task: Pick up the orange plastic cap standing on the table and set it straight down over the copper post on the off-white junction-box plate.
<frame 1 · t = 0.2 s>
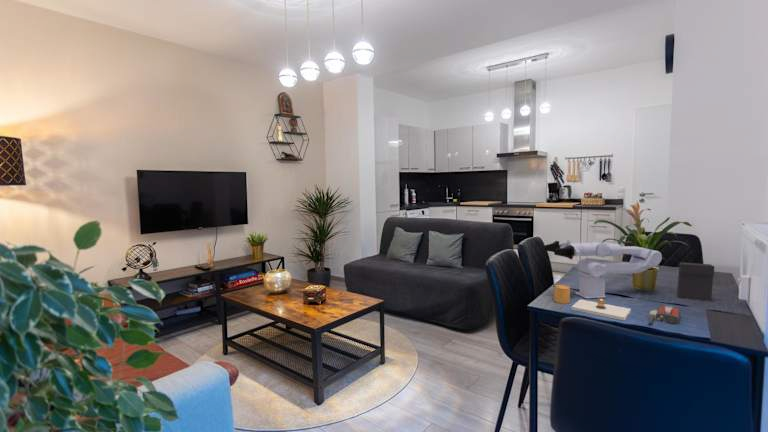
hand: (549, 250, 162), 21 cm above the table, tool horizontal, fingers open, 7 cm apart
plate: (600, 310, 148), on the table
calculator: (693, 298, 161), on the table
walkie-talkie: (663, 321, 138), on the table
cap: (561, 301, 159), on the table
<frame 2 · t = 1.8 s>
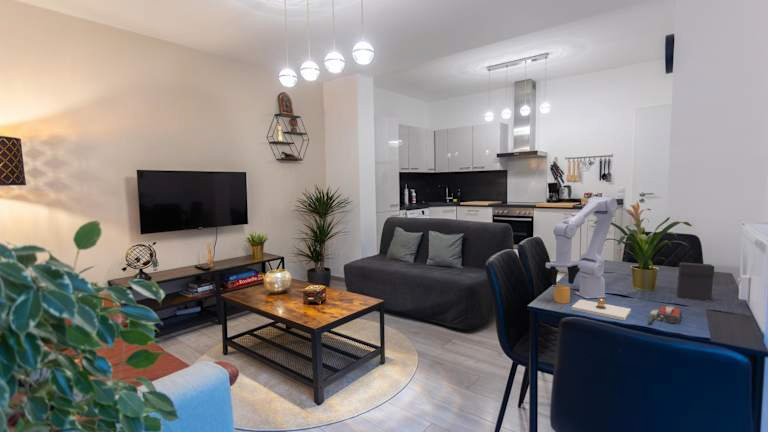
hand: (562, 284, 159), 7 cm above the table, tool pointing down, fingers open, 7 cm apart
nothing on the table moved.
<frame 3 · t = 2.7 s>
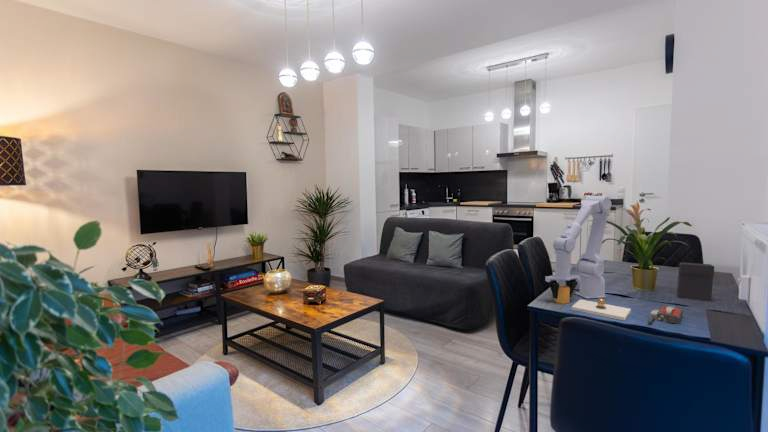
hand: (561, 297, 159), 2 cm above the table, tool pointing down, fingers closed on cap, 6 cm apart
cap: (561, 301, 159), on the table, touching gripper
everything else where it was.
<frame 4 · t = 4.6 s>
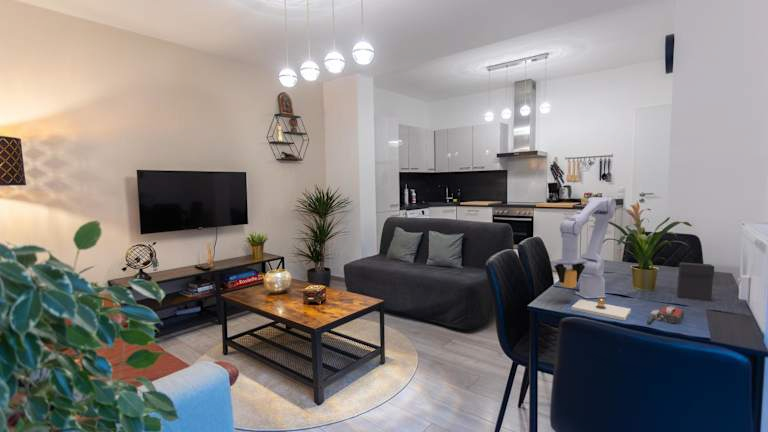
hand: (568, 281, 157), 9 cm above the table, tool pointing down, fingers closed on cap, 6 cm apart
cap: (568, 285, 157), point 7 cm above the table, touching gripper
everything else where it was.
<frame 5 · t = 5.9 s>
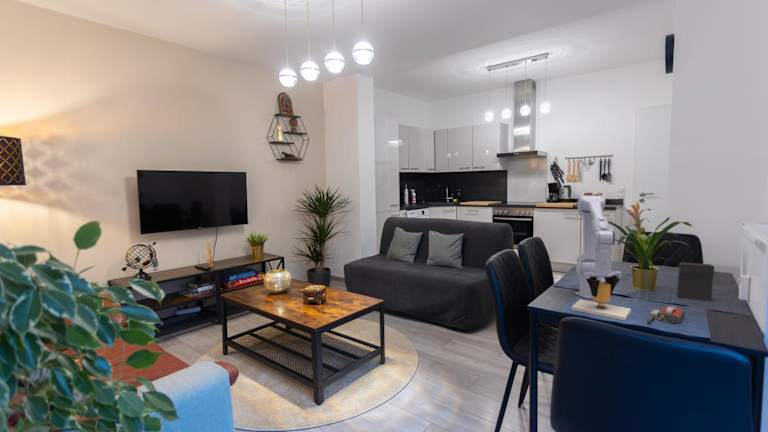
hand: (601, 295, 147), 6 cm above the table, tool pointing down, fingers closed on cap, 6 cm apart
cap: (601, 299, 147), point 4 cm above the table, touching gripper
everything else where it was.
when the fingers open (4 cm above the table, at t = 6.9 s): cap stays where it is, resting on plate.
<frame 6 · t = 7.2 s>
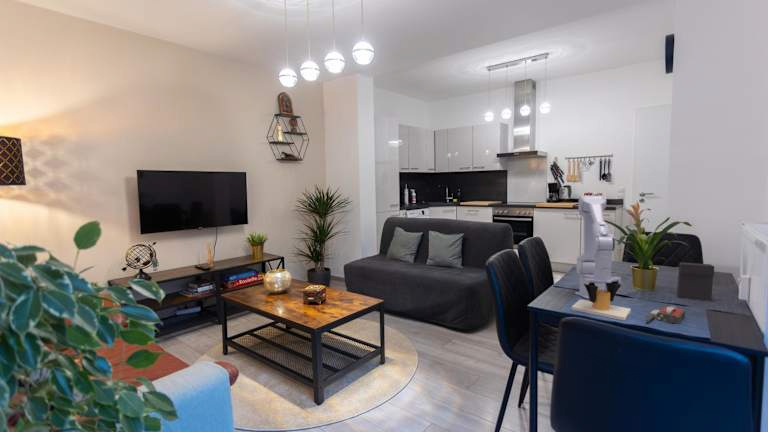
hand: (601, 301, 147), 4 cm above the table, tool pointing down, fingers open, 7 cm apart
cap: (601, 307, 148), point 1 cm above the table, touching plate
everything else where it was.
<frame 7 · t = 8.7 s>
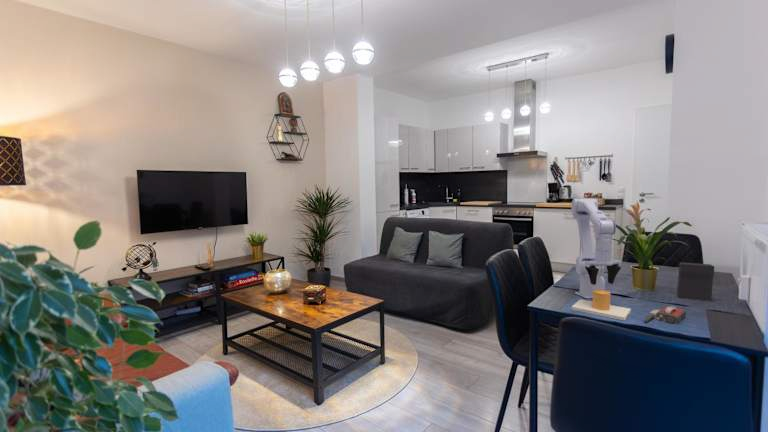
hand: (601, 283, 152), 9 cm above the table, tool pointing down, fingers open, 7 cm apart
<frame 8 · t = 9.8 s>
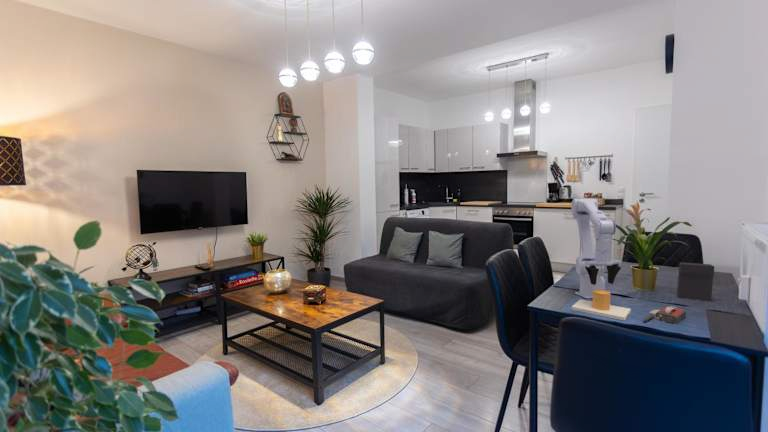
hand: (601, 283, 152), 9 cm above the table, tool pointing down, fingers open, 7 cm apart
at the end: cap 0.0 cm off-centre on the plate, point 1.2 cm above the plate's base; cap tilted 0°; the gripper is holding nothing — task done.
